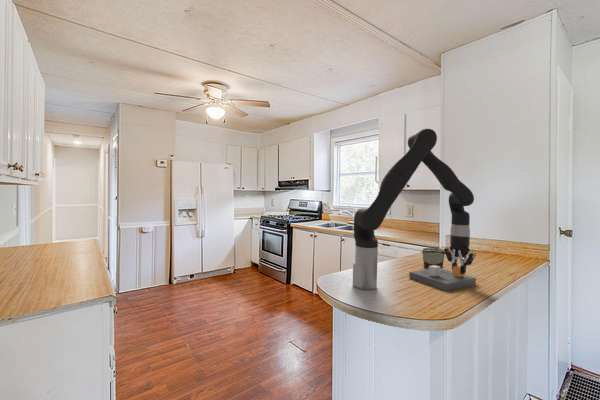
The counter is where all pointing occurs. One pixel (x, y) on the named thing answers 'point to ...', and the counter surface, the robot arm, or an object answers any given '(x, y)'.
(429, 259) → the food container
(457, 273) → the orange fader
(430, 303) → the counter surface
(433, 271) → the grey fader
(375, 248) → the robot arm
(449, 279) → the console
